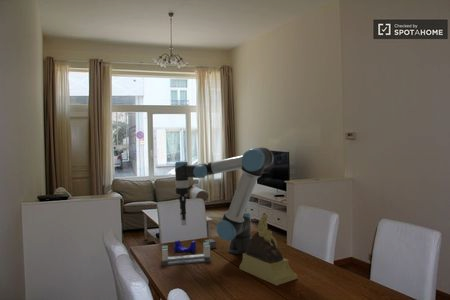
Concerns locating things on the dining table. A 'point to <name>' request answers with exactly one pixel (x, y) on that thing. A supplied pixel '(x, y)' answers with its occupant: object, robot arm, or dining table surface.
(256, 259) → the yellow and brown statuette
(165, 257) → the mounted modules
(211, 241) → the block
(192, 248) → the cable clip
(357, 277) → the dining table surface
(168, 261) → the rail
